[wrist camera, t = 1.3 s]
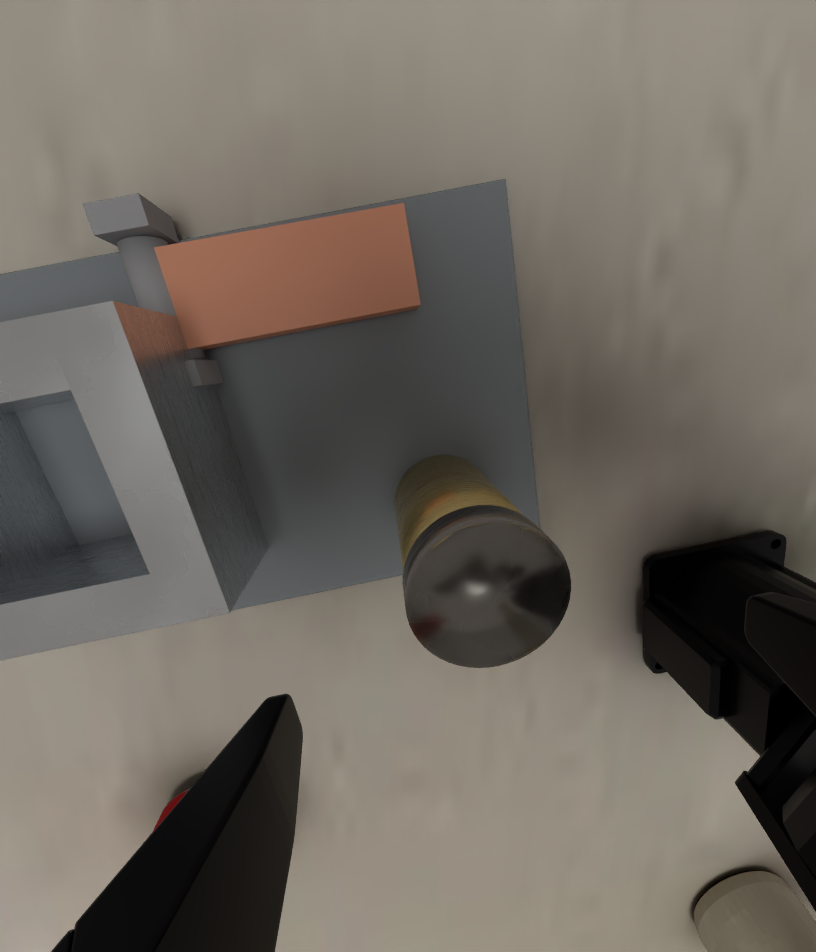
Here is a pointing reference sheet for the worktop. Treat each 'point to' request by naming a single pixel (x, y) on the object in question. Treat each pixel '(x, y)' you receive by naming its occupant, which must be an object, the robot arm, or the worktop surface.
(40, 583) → the block
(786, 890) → the vase
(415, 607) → the brass cylinder
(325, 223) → the lever
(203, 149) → the worktop surface
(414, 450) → the slate mat
